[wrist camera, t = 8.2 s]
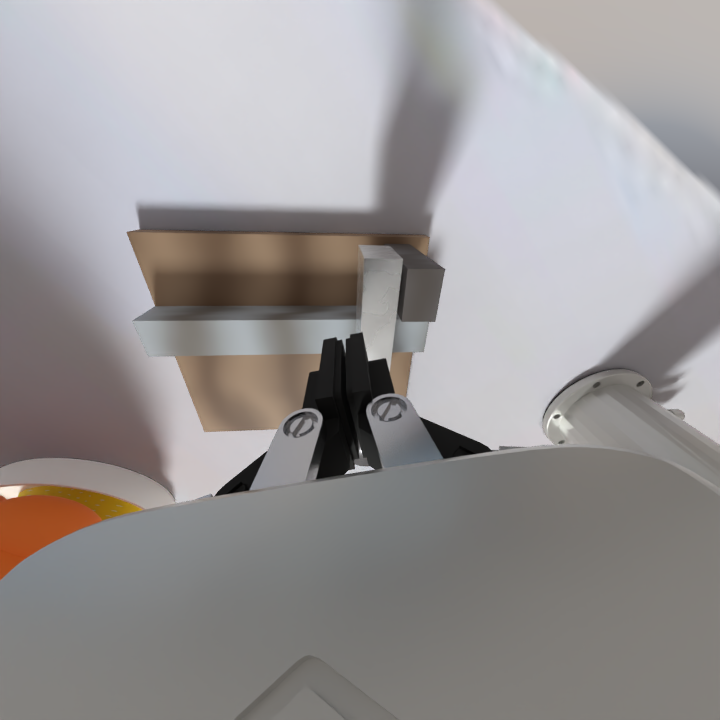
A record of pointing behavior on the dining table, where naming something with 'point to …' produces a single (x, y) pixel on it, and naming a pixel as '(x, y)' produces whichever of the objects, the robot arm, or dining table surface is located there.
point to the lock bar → (377, 303)
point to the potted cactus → (65, 501)
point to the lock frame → (268, 313)
